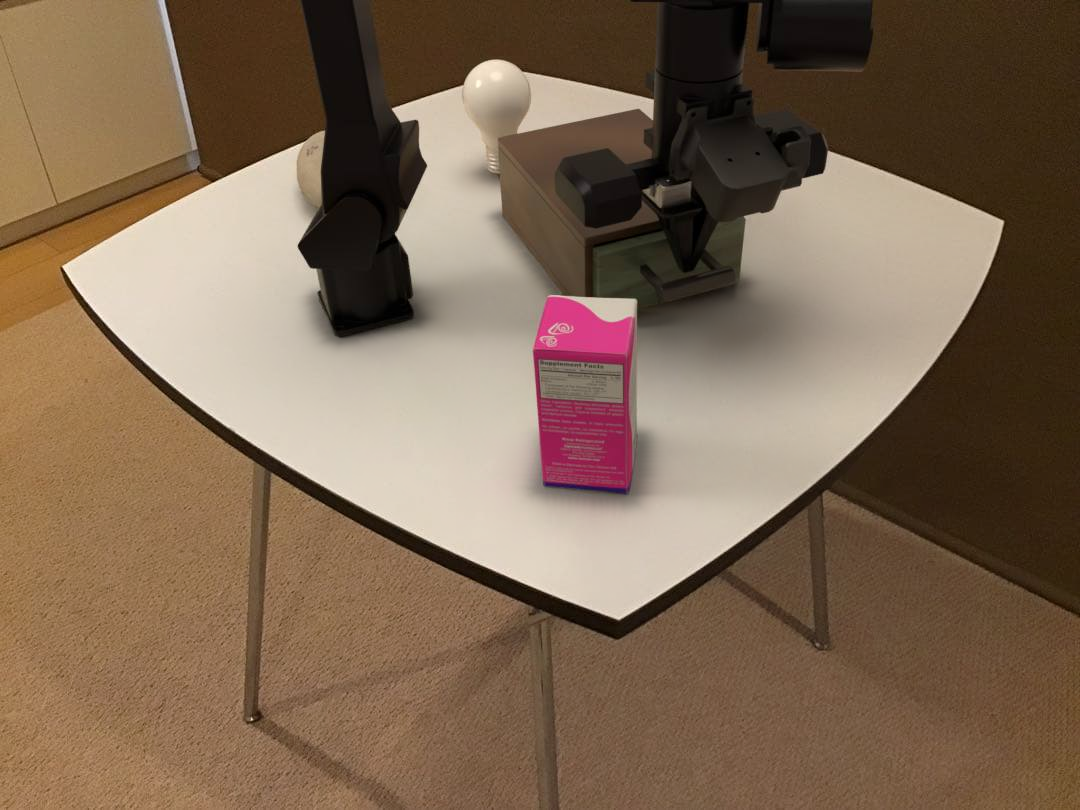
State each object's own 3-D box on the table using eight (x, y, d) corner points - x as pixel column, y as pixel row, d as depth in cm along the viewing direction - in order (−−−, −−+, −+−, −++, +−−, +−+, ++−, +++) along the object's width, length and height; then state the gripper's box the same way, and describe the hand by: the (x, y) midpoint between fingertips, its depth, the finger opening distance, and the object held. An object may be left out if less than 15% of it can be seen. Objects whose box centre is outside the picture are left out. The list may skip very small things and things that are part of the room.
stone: (303, 207, 91) (267, 120, 97) (332, 248, 97) (296, 164, 103) (362, 177, 91) (322, 92, 97) (387, 220, 97) (348, 137, 103)
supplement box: (552, 429, 72) (547, 290, 64) (638, 437, 71) (643, 297, 63) (538, 488, 67) (531, 346, 60) (629, 497, 66) (633, 354, 59)
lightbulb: (511, 194, 98) (504, 81, 90) (456, 179, 100) (445, 68, 93) (546, 166, 102) (542, 56, 95) (492, 152, 104) (485, 44, 97)
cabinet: (737, 282, 85) (746, 199, 80) (585, 323, 81) (584, 238, 76) (636, 184, 98) (639, 108, 93) (502, 215, 95) (497, 137, 90)
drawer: (768, 310, 80) (776, 245, 76) (622, 350, 77) (624, 284, 73) (642, 187, 96) (644, 128, 92) (516, 216, 93) (513, 156, 89)
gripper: (623, 144, 59) (619, 361, 69) (895, 84, 64) (855, 294, 74) (548, 75, 67) (554, 278, 77) (795, 26, 72) (771, 223, 82)
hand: (685, 269), depth 78 cm, fingers closed
